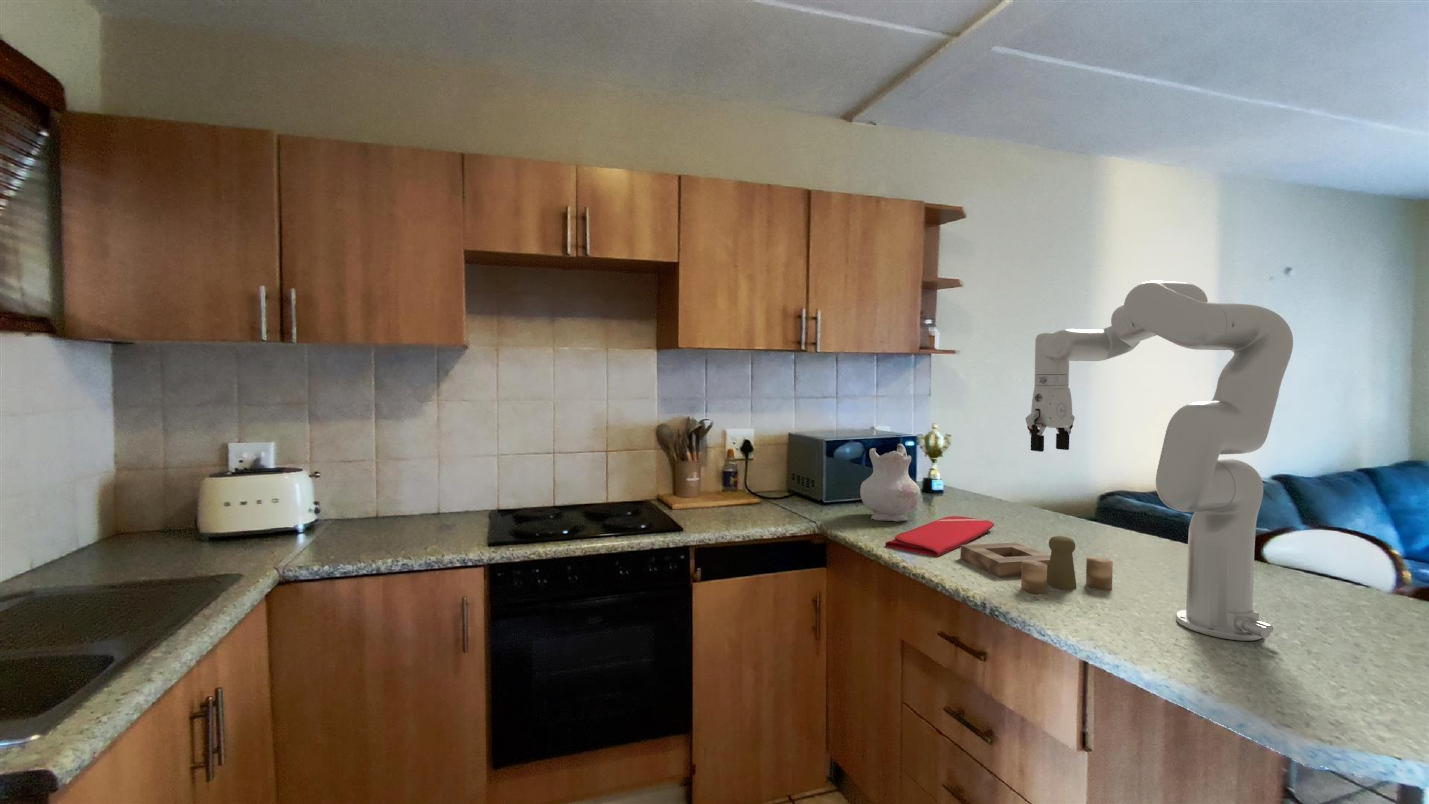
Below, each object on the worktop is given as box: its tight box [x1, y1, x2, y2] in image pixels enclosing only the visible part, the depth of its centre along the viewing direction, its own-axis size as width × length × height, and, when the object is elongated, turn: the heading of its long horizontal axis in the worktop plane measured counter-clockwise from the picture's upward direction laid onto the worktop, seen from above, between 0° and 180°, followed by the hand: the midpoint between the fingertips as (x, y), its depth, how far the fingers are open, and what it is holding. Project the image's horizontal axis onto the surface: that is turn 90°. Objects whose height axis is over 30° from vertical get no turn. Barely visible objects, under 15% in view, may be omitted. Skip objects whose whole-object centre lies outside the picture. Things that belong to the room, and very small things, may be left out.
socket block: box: [959, 542, 1051, 578], centre depth 154 cm, size 16×16×4 cm
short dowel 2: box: [1085, 556, 1114, 591], centre depth 138 cm, size 5×5×6 cm
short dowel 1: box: [1020, 560, 1048, 595], centre depth 135 cm, size 5×5×6 cm
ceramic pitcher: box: [859, 443, 922, 523], centre depth 209 cm, size 22×20×25 cm
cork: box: [1047, 535, 1078, 591], centre depth 139 cm, size 6×6×11 cm
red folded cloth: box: [884, 515, 995, 558], centre depth 181 cm, size 16×41×4 cm, turn 136°
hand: (1049, 450), depth 155 cm, fingers open, 9 cm apart
